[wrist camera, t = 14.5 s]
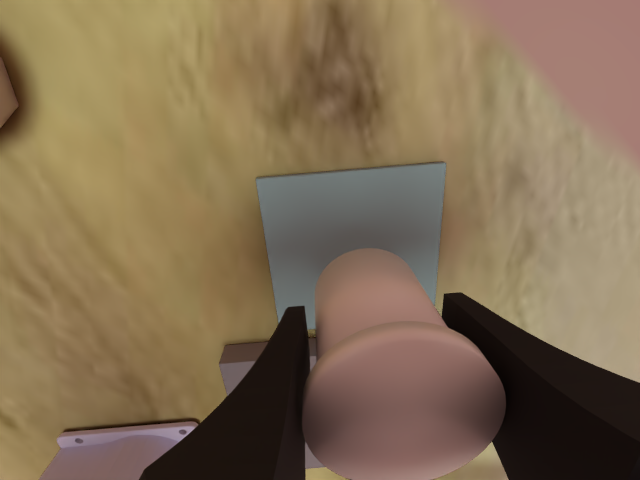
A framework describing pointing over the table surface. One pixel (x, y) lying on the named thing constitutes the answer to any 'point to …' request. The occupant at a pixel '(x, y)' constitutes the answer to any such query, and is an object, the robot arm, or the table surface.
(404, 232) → the mat
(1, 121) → the salt shaker
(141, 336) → the table surface
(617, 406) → the robot arm
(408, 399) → the plug
